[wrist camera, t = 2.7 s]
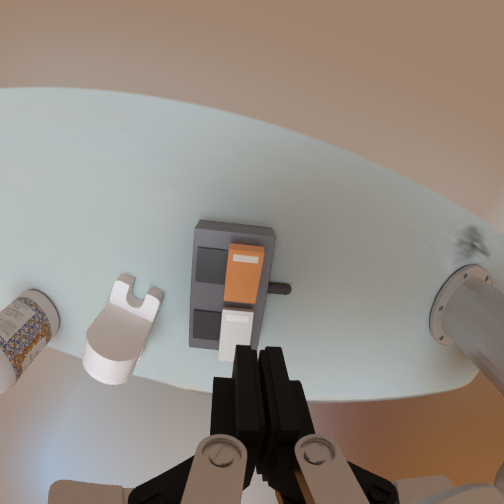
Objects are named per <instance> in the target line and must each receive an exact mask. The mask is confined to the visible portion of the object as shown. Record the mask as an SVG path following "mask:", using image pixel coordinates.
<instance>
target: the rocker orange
mask: <svg viewBox="0 0 504 504" xmlns="http://www.w3.org/2000/svg"><path fill="white" fill-rule="evenodd" d="M264 253H265V252H264V247H261V246H252V245H243V244H234V243H230V244H229V253H228V262H227V271H226V281H225V290H224V301H233V302H243V303H254V304H255V302H256V297H257V291H258V286H259V281H260V275H261V270H262V264H263V259H264Z"/></svg>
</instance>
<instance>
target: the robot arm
mask: <svg viewBox="0 0 504 504" xmlns="http://www.w3.org/2000/svg"><path fill="white" fill-rule="evenodd" d="M430 331H431V334H432V336H433V337H434V339H435V340H436V341H437V342H438V343H440V344H442V345H453V344H455V345H456V346H457V347H458V348H459V349H460V350H461V351H462V352H463V353H464V354H465V355H466V356H467V357H468V358H469V359H470V360H471V361H472V362H473V363H474V364H475V365H476V366H477V368H478V369H479V370H480V371H481V372H482V373H483V374H484V375H485V376H486V377H487V378H488V380H489V381H490V382H491V383H492V384H493V385H494V386H495V387H496V388H497V389H498V391H499V392H500V393H501V394H502V395H503V396H504V294H503V293H502V292H500V291H499V290H497V289H496V288H494V287H493V286H492V281H491V277H490V275H489V273H488V271H487V270H485V269H484V268H482V267H481V266H479V265H468V266H466V267H463V268H462V269H460V270H459V271H457V272H456V273H455V274H454V275H453V276H451V277H450V279H449V280H448V281H447V282H446V283H445V285H444V286H443V288H442V289H441V291H440V292H439V294H438V296H437V298H436V300H435V303H434V305H433V308H432V312H431V315H430ZM255 466H256V471H257V474H262V479H263V481H268V485H269V486H270V487H272V488H273V489H275V493H276V498H277V501H278V504H504V462H503V463H502V464H501V466H500V467H499V469H498V471H497V473H496V476H495V479H494V486H493V485H491V484H486V483H471V484H465V485H460V486H457V487H454V488H453V485H452V483H451V481H450V480H449V479H448V478H447V477H445V476H443V475H434V476H427V477H419V478H411V479H400V480H396V481H395V482H390V481H388V480H386V479H384V478H382V477H380V476H378V475H375V474H373V473H371V472H369V471H367V470H365V469H362V468H361V467H359V466H357V465H355V464H353V463H351V462H348V461H347V460H346V459H345V457H344V455H343V453H342V451H341V450H340V448H339V446H338V445H337V443H336V442H335V441H334V440H332V439H331V438H330V437H327V436H325V435H320V434H315V430H314V427H313V423H312V420H311V416H310V412H309V409H308V406H307V402H306V398H305V395H304V391H303V388H302V384H301V382H300V381H299V380H289V377H288V373H287V369H286V365H285V361H284V356H283V352H282V349H281V347H270V346H266V348H265V350H260V353H259V358H258V359H257V351H256V350H255V349H251V345H237V344H236V348H235V356H234V365H233V373H232V378H222V377H214V380H213V395H212V410H211V428H210V436H209V437H206V438H204V439H203V440H202V441H201V442H200V443H199V445H198V447H197V449H196V453H195V455H194V456H192V457H190V458H189V459H187V460H185V461H184V462H182V463H180V464H179V465H177V466H175V467H173V468H171V469H170V470H168V471H166V472H164V473H162V474H161V475H159V476H157V477H155V478H153V479H151V480H149V481H148V482H145V483H144V484H141V485H139V486H137V487H136V488H122V486H117V485H104V484H103V485H102V484H94V483H86V482H78V481H72V480H58V481H56V482H54V483H53V484H52V485H51V486H50V489H49V495H48V504H241V497H242V491H243V490H244V489H245V488H247V487H248V486H249V485H250V482H251V479H252V475H253V472H254V469H255Z"/></svg>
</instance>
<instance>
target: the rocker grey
mask: <svg viewBox="0 0 504 504" xmlns="http://www.w3.org/2000/svg"><path fill="white" fill-rule="evenodd" d="M253 315H254V311H253V309H245V308H235V307H225V306H223V310H222V321H221V332H220V343H219V354H218V361H227V362H234V356H235V348H236V344H237V345H250V339H251V331H252V323H253Z"/></svg>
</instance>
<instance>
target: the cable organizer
mask: <svg viewBox="0 0 504 504" xmlns="http://www.w3.org/2000/svg"><path fill="white" fill-rule="evenodd" d="M134 280H135V278H134V277H132V276H130V275H128V274H122V275H121V276H120V277H119V278H118V279H117V281H116V282H115V283H114V286H113V290H112V293H111V297H110V300H109V303H108V304H107V305H106V306H105V308H104V309H103V310H102V311H101V313H100V314H99V315H98V317H97V318H96V319H95V320H94V322H93V323H92V324H91V326H90V327H89V329H88V331H87V334H86V339H85V345H84V351H83V365H84V368H85V369H86V371H87V372H88V373H89V374H90V375H91V376H92V377H93V378H94V379H96V380H98V381H100V382H103V383H105V384H111V385H114V384H121V383H124V382H126V381H127V380H128V379H129V378H130V377H131V375H132V373H133V370H134V368H135V365H136V363H137V362H138V361H139V359H140V357H141V354H142V352H143V349H144V347H145V344H146V341H147V338H148V336H149V333H150V330H151V328H152V325H153V322H154V320H155V317H156V314H157V312H158V309H159V307H160V304H161V302H162V299H163V296H164V294H163V292H162V291H161V290H160V289H158V288H155V287H153V286H151V287H150V289H149V291H148V292H147V294H146V297H145V299H143V300H140V299H137V298H135V297H134V295H133V294H132V286H133V283H134Z"/></svg>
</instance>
